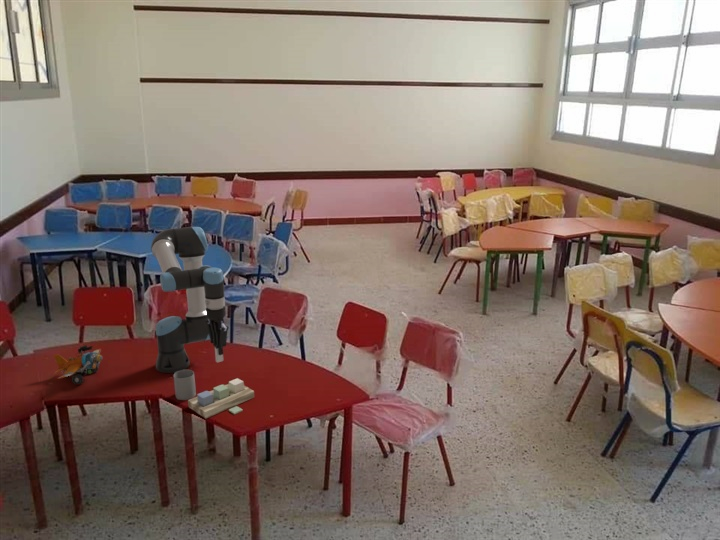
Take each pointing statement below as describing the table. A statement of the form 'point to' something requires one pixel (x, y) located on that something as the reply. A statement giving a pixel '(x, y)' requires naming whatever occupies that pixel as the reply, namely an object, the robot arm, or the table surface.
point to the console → (221, 402)
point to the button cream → (236, 386)
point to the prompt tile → (235, 410)
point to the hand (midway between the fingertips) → (219, 361)
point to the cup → (184, 384)
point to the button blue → (205, 398)
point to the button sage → (221, 392)
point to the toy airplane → (79, 364)
